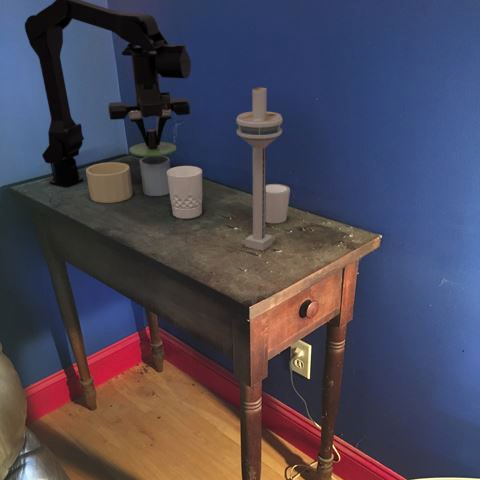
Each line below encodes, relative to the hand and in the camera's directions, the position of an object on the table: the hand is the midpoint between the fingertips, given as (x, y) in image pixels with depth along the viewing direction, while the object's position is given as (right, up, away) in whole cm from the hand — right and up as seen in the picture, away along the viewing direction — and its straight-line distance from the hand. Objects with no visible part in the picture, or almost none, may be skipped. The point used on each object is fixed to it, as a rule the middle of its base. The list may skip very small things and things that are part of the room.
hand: (152, 145), depth 138 cm
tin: (-11, -11, +4) cm, 16 cm away
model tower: (+25, -28, -22) cm, 44 cm away
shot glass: (+29, -20, -11) cm, 37 cm away
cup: (0, -10, +6) cm, 12 cm away
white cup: (+9, -18, -7) cm, 22 cm away
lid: (0, -1, +1) cm, 1 cm away
